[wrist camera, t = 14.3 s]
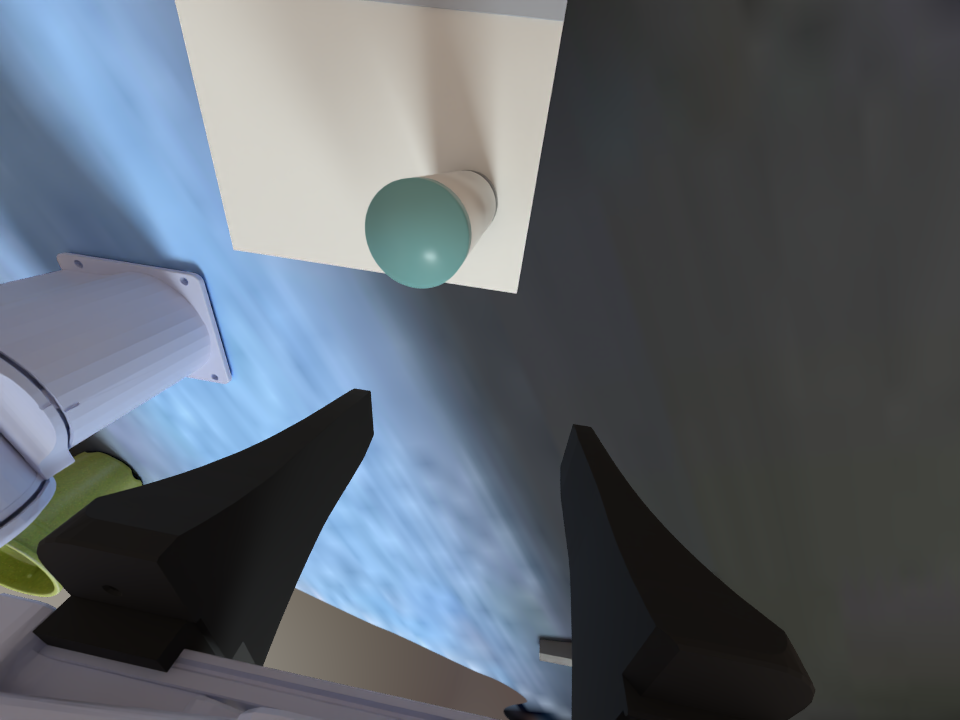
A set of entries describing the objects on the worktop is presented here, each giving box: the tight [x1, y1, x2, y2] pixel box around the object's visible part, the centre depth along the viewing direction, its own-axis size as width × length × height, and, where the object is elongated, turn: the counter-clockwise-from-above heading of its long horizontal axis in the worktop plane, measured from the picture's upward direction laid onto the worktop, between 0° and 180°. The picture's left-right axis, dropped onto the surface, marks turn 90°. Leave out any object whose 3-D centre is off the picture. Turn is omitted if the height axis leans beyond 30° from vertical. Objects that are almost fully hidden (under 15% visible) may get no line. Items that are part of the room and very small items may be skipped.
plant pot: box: [0, 452, 142, 597], centre depth 30 cm, size 9×9×9 cm
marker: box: [365, 170, 498, 288], centre depth 13 cm, size 3×3×9 cm
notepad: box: [175, 0, 567, 294], centre depth 16 cm, size 16×12×1 cm
